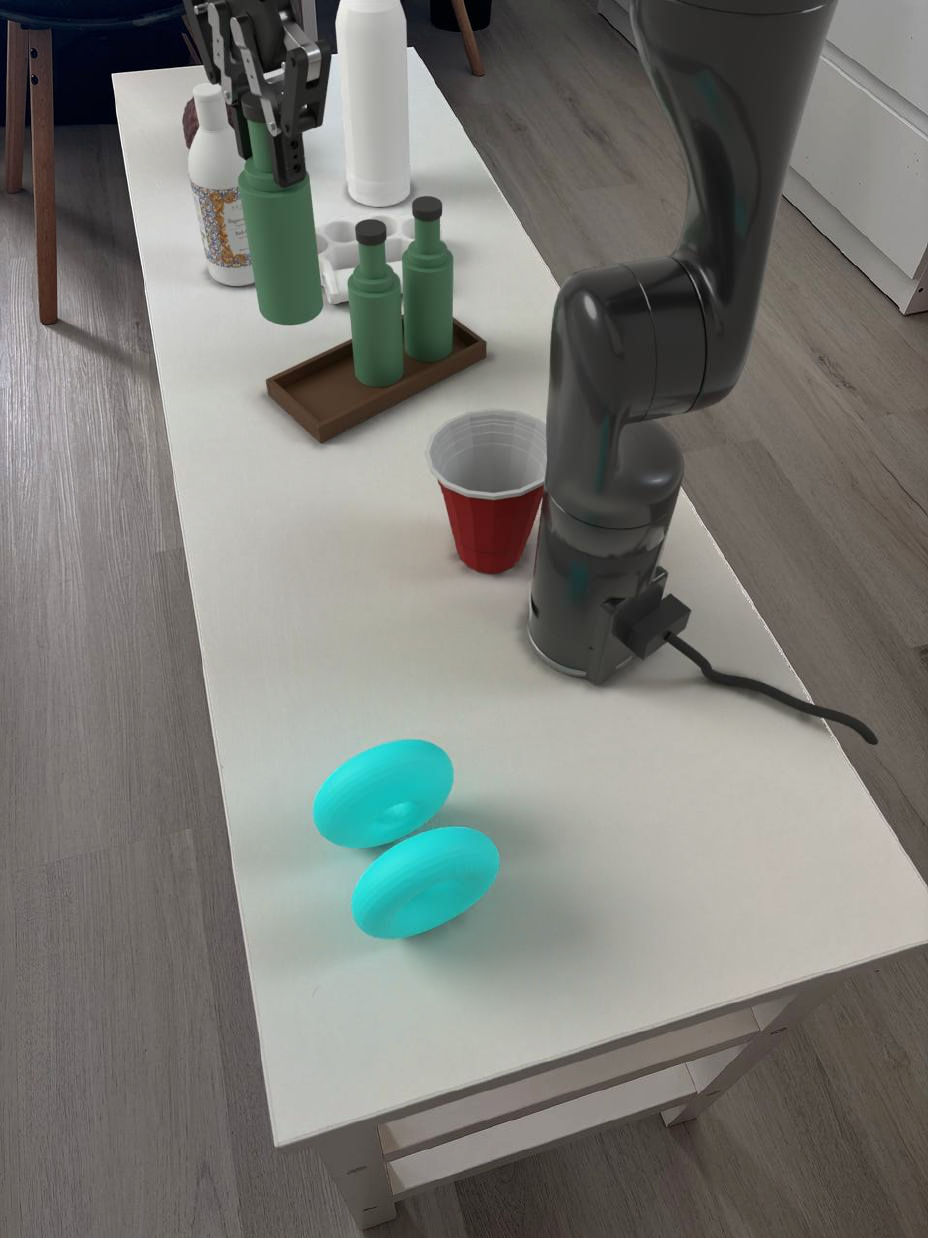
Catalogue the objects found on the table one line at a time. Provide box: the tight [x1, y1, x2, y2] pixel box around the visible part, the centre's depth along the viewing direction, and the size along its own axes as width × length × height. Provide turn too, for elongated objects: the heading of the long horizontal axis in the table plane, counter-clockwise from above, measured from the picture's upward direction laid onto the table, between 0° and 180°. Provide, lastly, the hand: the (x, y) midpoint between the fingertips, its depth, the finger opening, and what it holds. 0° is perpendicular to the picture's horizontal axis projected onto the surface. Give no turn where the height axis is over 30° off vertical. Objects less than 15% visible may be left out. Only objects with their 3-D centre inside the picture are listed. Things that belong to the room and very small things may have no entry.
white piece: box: [315, 212, 443, 305], centre depth 111 cm, size 3×18×15 cm
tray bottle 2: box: [402, 195, 454, 362], centre depth 97 cm, size 5×5×16 cm
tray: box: [265, 313, 488, 444], centre depth 100 cm, size 9×21×2 cm, turn 130°
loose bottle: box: [238, 90, 324, 326], centre depth 71 cm, size 5×5×16 cm
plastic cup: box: [424, 407, 547, 575], centre depth 82 cm, size 11×11×12 cm
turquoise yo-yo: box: [312, 738, 501, 940], centre depth 64 cm, size 10×10×10 cm
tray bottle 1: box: [347, 219, 404, 387], centre depth 94 cm, size 5×5×16 cm
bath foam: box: [187, 82, 255, 287], centre depth 104 cm, size 7×7×20 cm
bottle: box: [335, 0, 412, 208], centre depth 111 cm, size 8×8×30 cm
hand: (272, 168), depth 68 cm, fingers closed on loose bottle, 3 cm apart
